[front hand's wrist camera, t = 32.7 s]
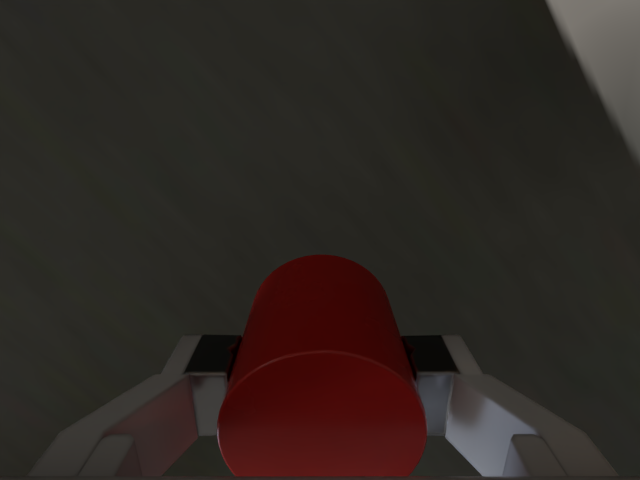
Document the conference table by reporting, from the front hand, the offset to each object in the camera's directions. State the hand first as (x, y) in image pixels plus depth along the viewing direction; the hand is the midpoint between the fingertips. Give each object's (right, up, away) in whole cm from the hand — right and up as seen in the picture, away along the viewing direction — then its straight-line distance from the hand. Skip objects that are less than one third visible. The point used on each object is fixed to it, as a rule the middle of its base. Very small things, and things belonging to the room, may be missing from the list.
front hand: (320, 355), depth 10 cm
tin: (0, +1, +2) cm, 2 cm away
